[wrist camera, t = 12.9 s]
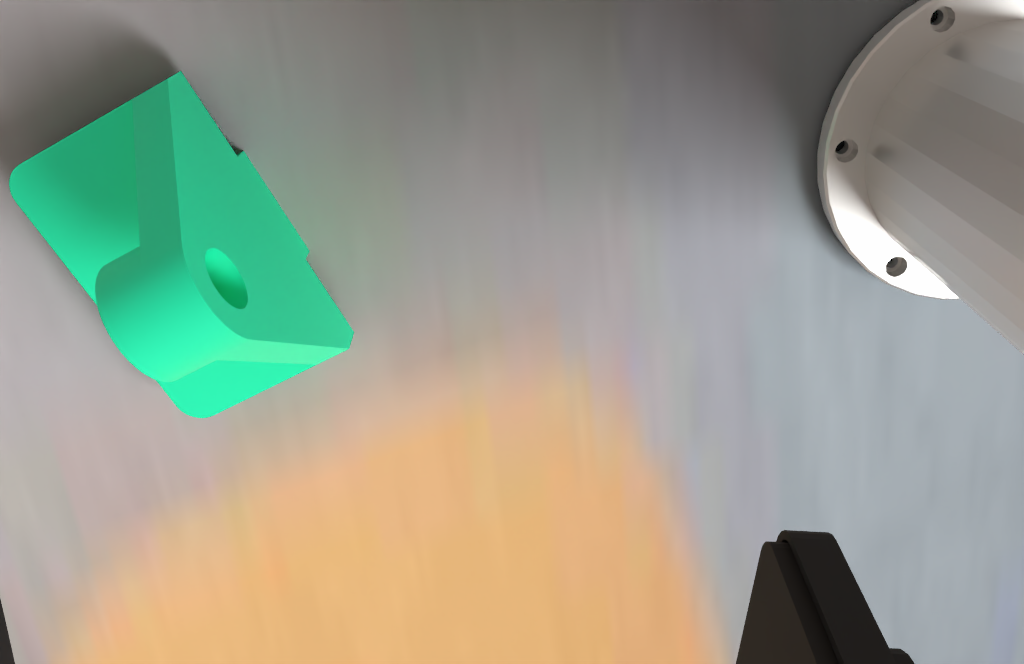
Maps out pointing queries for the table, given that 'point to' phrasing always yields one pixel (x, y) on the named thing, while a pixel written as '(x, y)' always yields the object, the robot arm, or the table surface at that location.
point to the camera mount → (182, 251)
